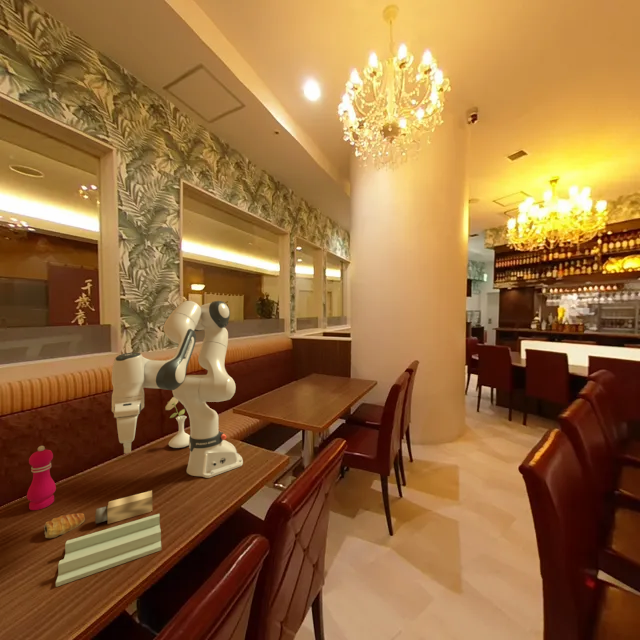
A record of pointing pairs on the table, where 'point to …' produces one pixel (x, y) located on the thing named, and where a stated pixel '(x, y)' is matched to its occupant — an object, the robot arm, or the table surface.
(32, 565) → the table surface
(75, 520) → the pastry
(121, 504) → the grey-capped wooden block
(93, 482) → the table surface
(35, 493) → the pepper mill
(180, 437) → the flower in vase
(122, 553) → the grooved moulding strip
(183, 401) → the robot arm
